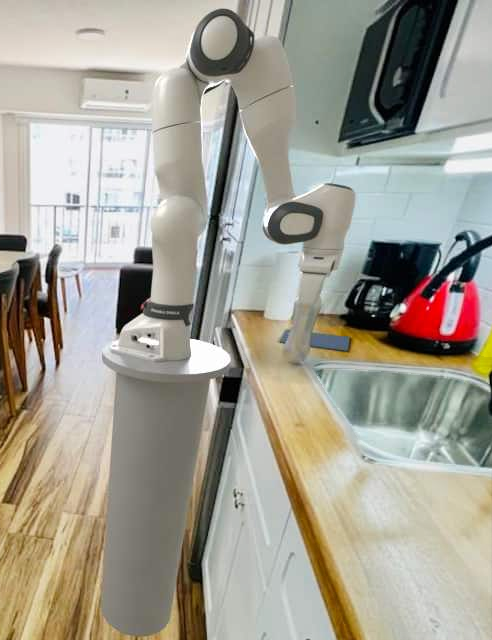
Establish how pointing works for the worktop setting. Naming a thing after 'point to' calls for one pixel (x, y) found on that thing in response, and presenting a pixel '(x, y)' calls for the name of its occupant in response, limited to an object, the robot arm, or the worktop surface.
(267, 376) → the worktop surface
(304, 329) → the plastic bottle
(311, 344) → the cloth
